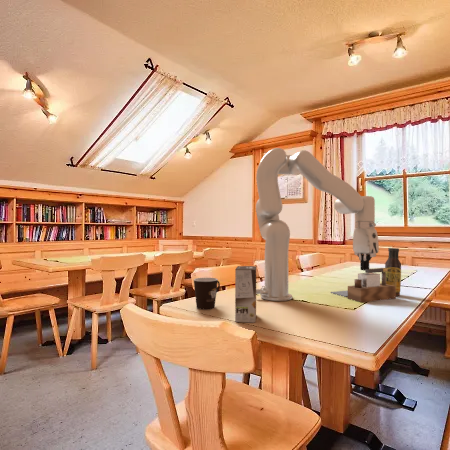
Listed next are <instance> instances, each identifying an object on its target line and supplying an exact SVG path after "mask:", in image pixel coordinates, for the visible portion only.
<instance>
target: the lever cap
mask: <svg viewBox="0 0 450 450" xmlns="http://www.w3.org/2000/svg"><path fill="white" fill-rule="evenodd" d="M357 279H361V280H362V287H365V288H372V287H380V283H381V274H380V273H377V272H376V273H365V272H364V273H363V272H362V273H361V272H360V273H357Z"/></svg>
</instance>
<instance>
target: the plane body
mask: <svg viewBox="0 0 450 450" xmlns="http://www.w3.org/2000/svg"><path fill="white" fill-rule="evenodd" d="M347 290H348V297H347V299H348V300H351V299H352V301H354V300H355V302H358V301H359V302H358V303H368V302H376V301H385V300H393V299H396V297H397V296H396V286H393V285H388V284H386V272H381V282H380V287H372V288H365V287H362V280H361V279H358V278H356V279H354V285H347Z"/></svg>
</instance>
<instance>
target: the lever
mask: <svg viewBox="0 0 450 450" xmlns="http://www.w3.org/2000/svg"><path fill="white" fill-rule="evenodd" d="M382 272H388V268H385V267H375V268H369V269H365V272H364V273H376V274H377V273H382Z"/></svg>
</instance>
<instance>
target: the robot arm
mask: <svg viewBox="0 0 450 450" xmlns="http://www.w3.org/2000/svg"><path fill="white" fill-rule="evenodd" d="M300 174H301V175H302V177H304V178H305V180H306V181H308V182H309V183H310V184H311V185H312V186H313V188H315V189H316V190H318V191H321V192H324V193H327V194H329V195H331V196H333V197H334V198H335V199H336V200H335V202H334V205H333V206H334V210H335V211H336V212H337V213H339V214H341V215H348V214H354V230H353V237H352V250H353V252H354V253H353V254H354V255H355V256H357V258H358V260H359V261H360V265H359V266H360V271H363V272H364V271H365V269H370V261H371V260H372V258H375V257H377V254H379V236H378V232H377V229H376V227H377V224H376V222H375V220H376V218H375V216H376V215H375V214H376V213H375V211H376V204H375V203H376V199H375V197H374V196H372V195H371V196H369V195H364V196H363V195H361V194H360V193H359V192H358V191H357V190H356V189H355V188H354V187H353V186H352V185H351V184H349V183H348V182H347V181H345V180H343V179H341V178H340V177H338V176H337V175H334V174H333V173H332V172H331V171H330V170H328V169H327V167H325V166H324V165H323V164H322V162H320V160H318V159H317V158H316V157H315V156H314V154H312V153H311V152H310V151H308V150H305V149H304V150H300V151H298V152H296V153H294V154H287V152H286V151H285V150H284V149H283V148H280V147H275V148H272V149H271V150H268V152H267V153H265V155H264V156H262V158H261V160H260V162H259V164H258V166H257V169H256V177H255V179H256V186H257V193H258V199H257V201H256V203H255V212H256V213H255V214H256V218H257V224H258V229H259V233H260V236H261V237H262V239H263V240H265V244H264V285H262V287H261V288H260V289H259V288H256V295H260V298H261V299H263V300H266V301H272V302H283V301H285V302H286V301H291V300H292V299H293V294H291V293H289V245H290V241H291V240H290V237H291V231H290V227H289V225H288V224H287V223H286V222H285V221H284V220H281V219H280V214H281V212H282V211H283V202H282V197H281V193H280V187H279V179H278V177H279V175H300Z"/></svg>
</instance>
